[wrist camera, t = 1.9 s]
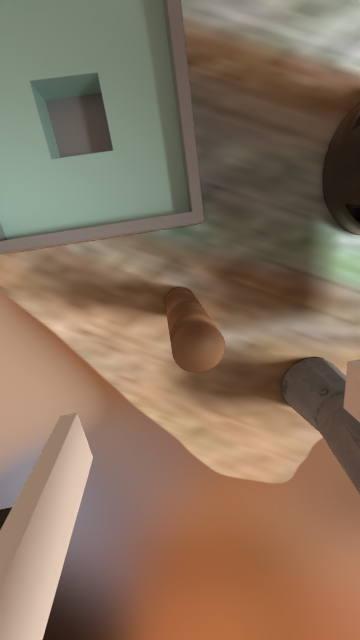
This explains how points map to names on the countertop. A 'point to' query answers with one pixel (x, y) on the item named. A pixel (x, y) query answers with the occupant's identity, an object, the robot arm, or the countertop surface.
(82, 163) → the bore box
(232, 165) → the countertop surface
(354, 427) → the moka pot
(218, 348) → the walnut peg
